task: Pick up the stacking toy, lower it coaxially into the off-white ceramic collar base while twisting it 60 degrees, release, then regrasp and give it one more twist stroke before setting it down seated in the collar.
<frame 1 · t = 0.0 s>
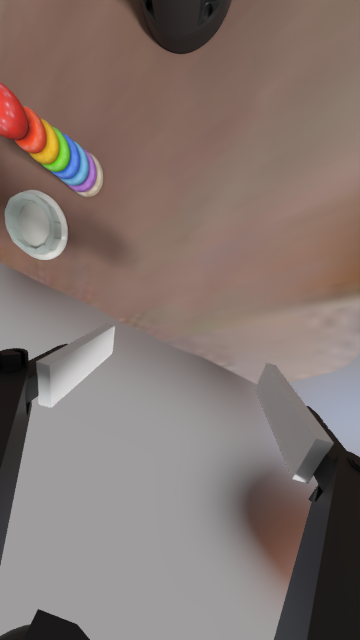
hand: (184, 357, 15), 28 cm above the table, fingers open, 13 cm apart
stacking toy: (88, 177, 37), on the table
collar base: (39, 227, 42), on the table
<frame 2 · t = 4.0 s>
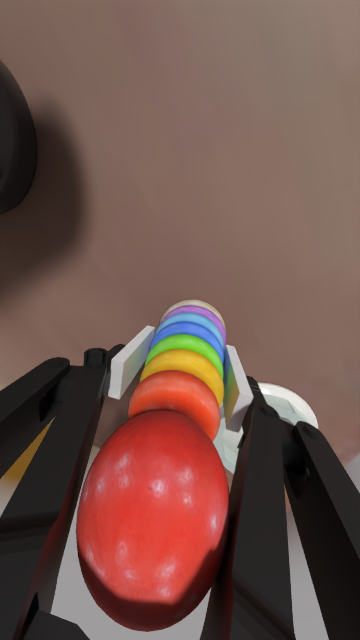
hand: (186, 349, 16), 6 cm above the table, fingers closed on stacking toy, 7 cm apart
stacking toy: (192, 329, 22), on the table, touching gripper
collar base: (255, 428, 24), on the table
when the fingers open (7 cm above the table, at t = 9.2 s): stacking toy stays where it is, resting on collar base.
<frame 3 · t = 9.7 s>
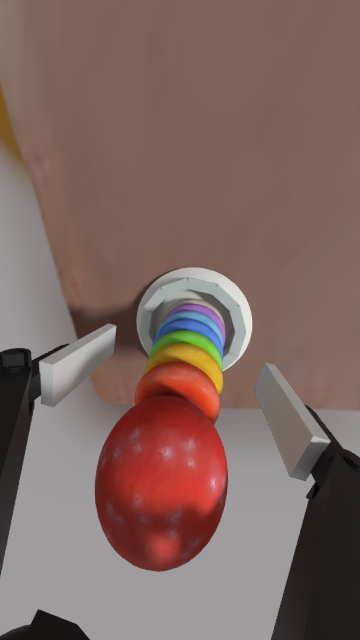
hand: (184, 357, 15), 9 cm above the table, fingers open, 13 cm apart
stacking toy: (192, 327, 23), resting on collar base
collar base: (192, 326, 23), on the table
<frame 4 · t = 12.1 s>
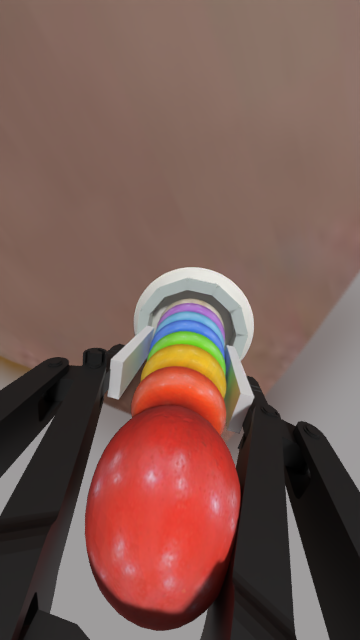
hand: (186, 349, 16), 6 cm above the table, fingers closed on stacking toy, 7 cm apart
stacking toy: (191, 328, 22), resting on collar base, touching gripper
collar base: (191, 328, 22), on the table
when the fingers open (6 cm above the table, at t = 13.8 s): stacking toy stays where it is, resting on collar base.
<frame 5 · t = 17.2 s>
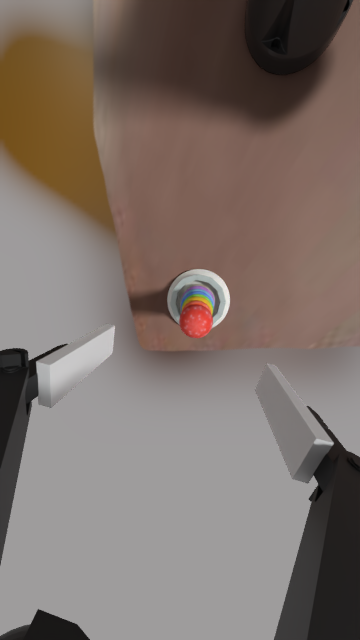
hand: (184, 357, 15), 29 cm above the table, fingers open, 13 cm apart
stacking toy: (197, 300, 42), resting on collar base
collar base: (197, 301, 42), on the table
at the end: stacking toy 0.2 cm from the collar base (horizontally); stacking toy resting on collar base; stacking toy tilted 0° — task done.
